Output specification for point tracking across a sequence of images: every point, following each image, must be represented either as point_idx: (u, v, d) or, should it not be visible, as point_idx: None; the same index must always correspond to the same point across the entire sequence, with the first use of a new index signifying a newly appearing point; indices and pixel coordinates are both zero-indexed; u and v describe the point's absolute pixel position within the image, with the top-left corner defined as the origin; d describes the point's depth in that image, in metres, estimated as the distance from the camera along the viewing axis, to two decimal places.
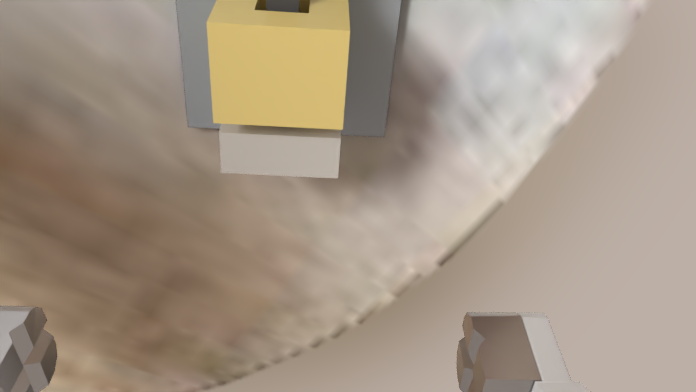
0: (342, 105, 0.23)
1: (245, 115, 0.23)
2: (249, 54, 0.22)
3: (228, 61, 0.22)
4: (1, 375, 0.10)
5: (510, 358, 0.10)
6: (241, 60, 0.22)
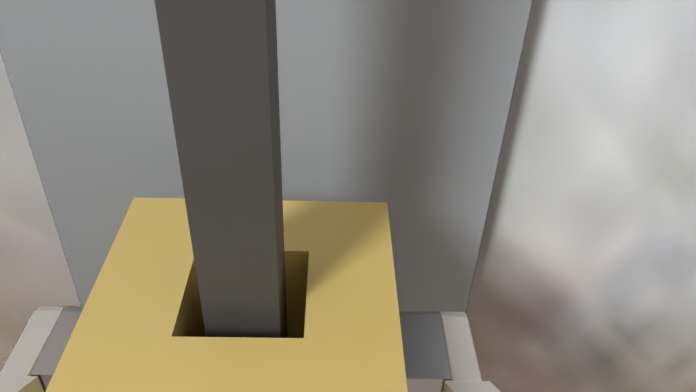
0: None
1: None
2: None
3: None
4: None
5: (424, 357, 0.10)
6: None
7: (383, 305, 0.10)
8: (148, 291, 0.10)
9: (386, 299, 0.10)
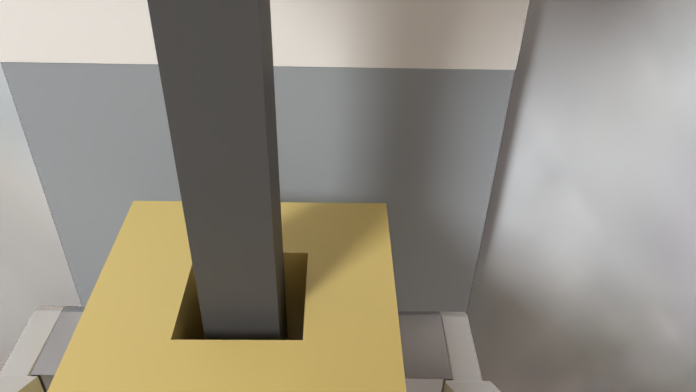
0: None
1: None
2: None
3: None
4: None
5: (424, 357, 0.10)
6: None
7: (382, 306, 0.10)
8: (147, 294, 0.10)
9: (385, 300, 0.10)
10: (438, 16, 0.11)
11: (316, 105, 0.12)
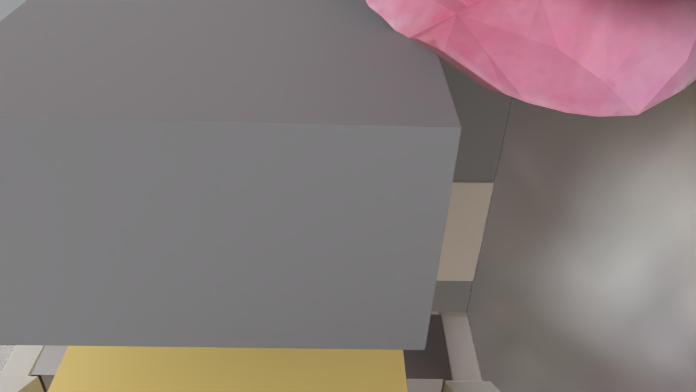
0: None
1: None
2: None
3: None
4: None
5: (424, 357, 0.10)
6: None
7: None
8: None
9: None
10: None
11: None
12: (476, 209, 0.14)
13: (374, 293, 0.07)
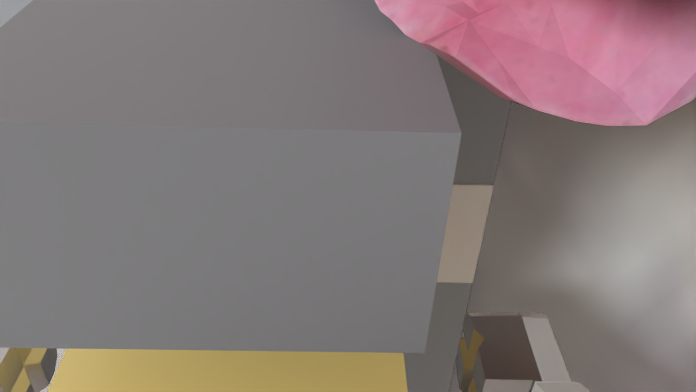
0: None
1: None
2: None
3: None
4: (1, 375, 0.10)
5: (511, 358, 0.10)
6: None
7: None
8: None
9: None
10: None
11: None
12: (476, 211, 0.14)
13: (374, 297, 0.07)
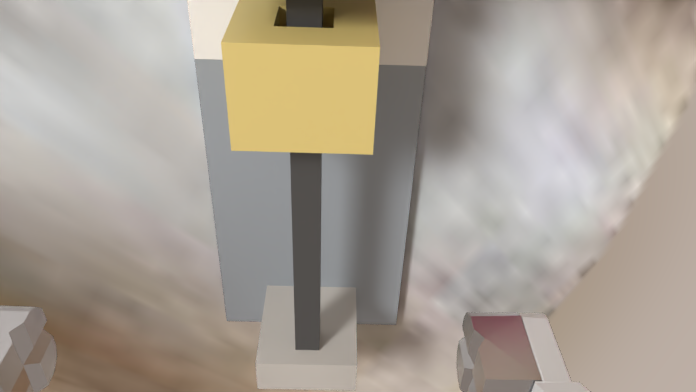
0: (372, 128, 0.21)
1: (265, 141, 0.21)
2: (269, 75, 0.20)
3: (246, 83, 0.20)
4: (1, 375, 0.10)
5: (510, 358, 0.10)
6: (260, 82, 0.20)
7: (370, 21, 0.21)
8: (259, 15, 0.21)
9: (371, 20, 0.21)
10: (390, 41, 0.26)
11: None
12: (425, 14, 0.25)
13: None
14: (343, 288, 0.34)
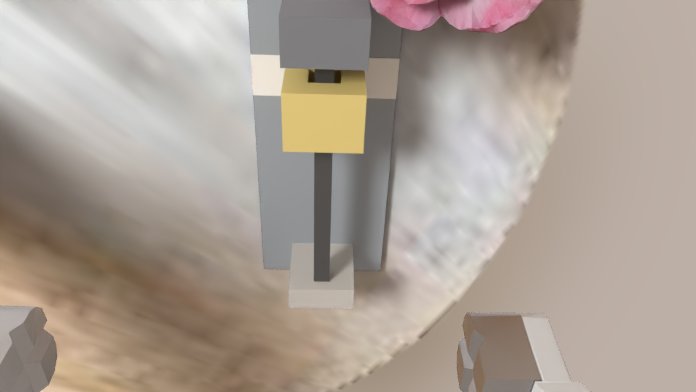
0: (362, 138, 0.37)
1: (302, 146, 0.38)
2: (306, 110, 0.36)
3: (293, 115, 0.36)
4: (1, 375, 0.10)
5: (511, 358, 0.10)
6: (300, 114, 0.36)
7: (361, 79, 0.37)
8: (298, 75, 0.37)
9: (362, 78, 0.38)
10: (373, 84, 0.42)
11: None
12: (394, 68, 0.42)
13: (357, 55, 0.34)
14: (344, 244, 0.51)
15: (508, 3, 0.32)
